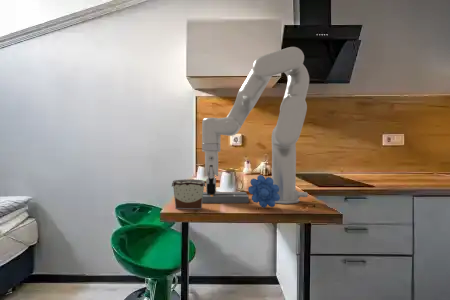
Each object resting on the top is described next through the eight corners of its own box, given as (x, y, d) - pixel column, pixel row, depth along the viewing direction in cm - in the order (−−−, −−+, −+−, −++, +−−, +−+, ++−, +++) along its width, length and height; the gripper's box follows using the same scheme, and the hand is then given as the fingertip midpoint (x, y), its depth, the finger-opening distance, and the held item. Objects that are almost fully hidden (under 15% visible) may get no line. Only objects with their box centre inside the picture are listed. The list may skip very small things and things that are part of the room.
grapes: (248, 209, 126) (248, 176, 126) (248, 206, 133) (248, 174, 132) (281, 210, 125) (281, 176, 125) (279, 206, 132) (279, 174, 132)
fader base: (245, 197, 152) (245, 191, 152) (248, 202, 140) (248, 196, 140) (201, 197, 151) (201, 191, 151) (200, 202, 139) (200, 196, 139)
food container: (207, 206, 132) (208, 179, 132) (205, 209, 126) (205, 181, 126) (175, 205, 133) (175, 179, 133) (171, 208, 127) (171, 180, 127)
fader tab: (215, 195, 147) (216, 177, 146) (216, 196, 144) (216, 178, 143) (206, 195, 146) (206, 177, 146) (206, 196, 143) (206, 178, 143)
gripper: (221, 148, 137) (220, 196, 137) (219, 147, 153) (219, 190, 153) (201, 148, 136) (201, 196, 137) (202, 147, 153) (202, 190, 153)
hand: (211, 192), depth 145 cm, fingers closed on fader tab, 3 cm apart
